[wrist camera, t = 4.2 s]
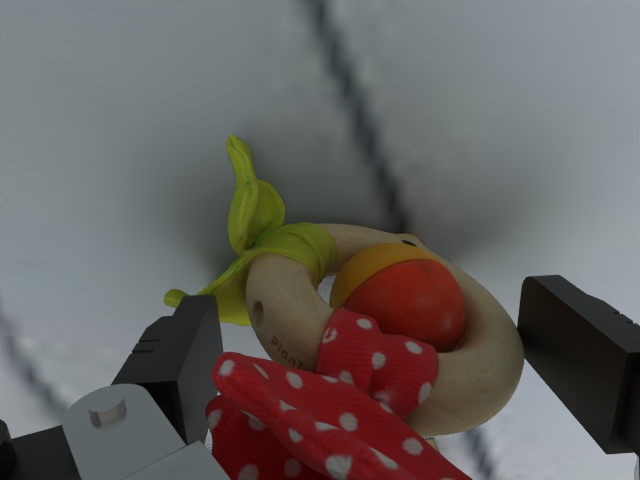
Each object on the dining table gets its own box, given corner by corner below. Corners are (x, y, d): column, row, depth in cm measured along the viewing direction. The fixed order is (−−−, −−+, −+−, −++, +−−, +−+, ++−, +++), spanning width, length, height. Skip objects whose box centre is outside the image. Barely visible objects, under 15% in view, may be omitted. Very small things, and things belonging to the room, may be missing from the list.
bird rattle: (403, 149, 17) (142, 117, 12) (797, 289, 8) (339, 359, 3) (366, 298, 19) (133, 316, 14) (642, 548, 10) (233, 806, 5)
